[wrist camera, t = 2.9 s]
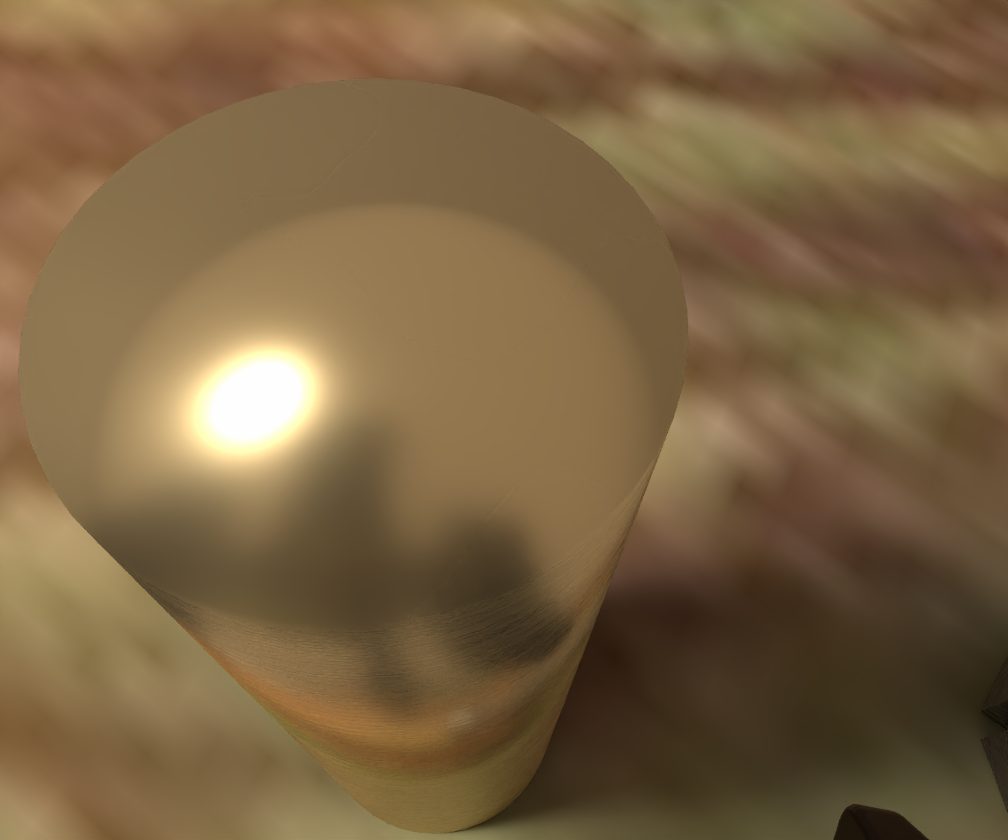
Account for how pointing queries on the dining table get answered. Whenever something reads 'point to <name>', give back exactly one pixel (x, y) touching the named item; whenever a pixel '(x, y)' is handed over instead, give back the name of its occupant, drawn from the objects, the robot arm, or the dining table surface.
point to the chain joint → (1003, 747)
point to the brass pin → (367, 415)
